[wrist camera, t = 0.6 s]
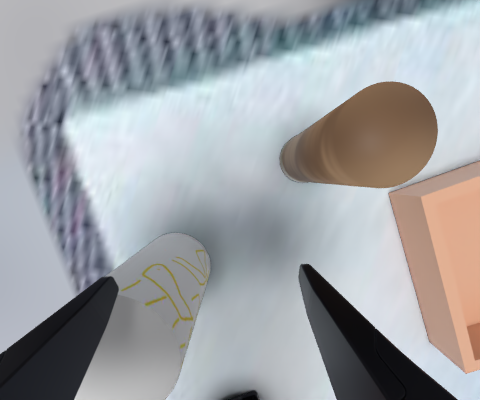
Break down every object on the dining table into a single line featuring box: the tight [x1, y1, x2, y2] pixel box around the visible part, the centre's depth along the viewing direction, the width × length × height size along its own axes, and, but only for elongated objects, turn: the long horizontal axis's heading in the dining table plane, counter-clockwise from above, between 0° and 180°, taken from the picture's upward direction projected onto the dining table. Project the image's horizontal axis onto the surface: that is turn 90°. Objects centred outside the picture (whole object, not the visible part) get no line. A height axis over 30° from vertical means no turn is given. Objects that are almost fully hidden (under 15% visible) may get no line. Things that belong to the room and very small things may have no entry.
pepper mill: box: [280, 82, 438, 188], centre depth 16 cm, size 5×5×12 cm
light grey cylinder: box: [74, 233, 211, 400], centre depth 17 cm, size 8×8×12 cm
